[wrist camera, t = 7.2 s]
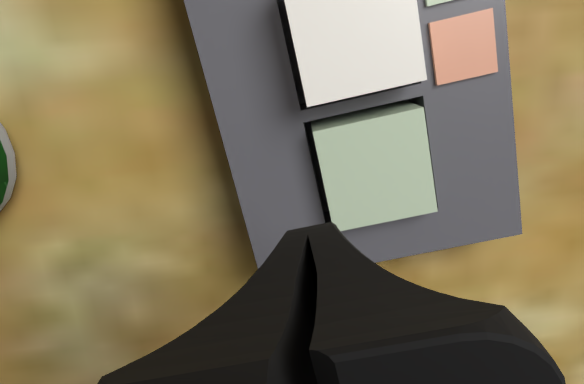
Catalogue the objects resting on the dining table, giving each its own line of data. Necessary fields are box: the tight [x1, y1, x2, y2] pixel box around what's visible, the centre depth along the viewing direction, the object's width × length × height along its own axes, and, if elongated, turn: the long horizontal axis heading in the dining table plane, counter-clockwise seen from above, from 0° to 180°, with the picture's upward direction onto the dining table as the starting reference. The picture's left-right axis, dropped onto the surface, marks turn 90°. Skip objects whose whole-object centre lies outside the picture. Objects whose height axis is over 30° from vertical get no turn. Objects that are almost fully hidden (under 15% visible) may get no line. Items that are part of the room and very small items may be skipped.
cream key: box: [284, 0, 427, 107], centre depth 17 cm, size 4×4×4 cm
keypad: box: [184, 0, 522, 269], centre depth 18 cm, size 20×12×3 cm, turn 13°
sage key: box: [311, 100, 438, 231], centre depth 19 cm, size 4×4×4 cm
